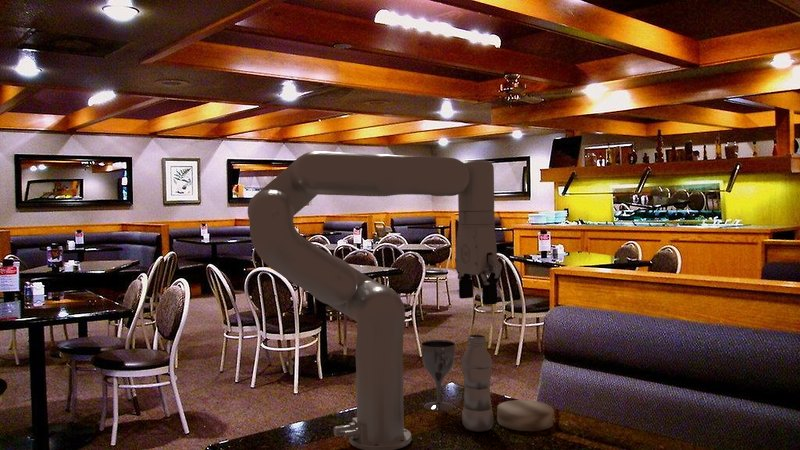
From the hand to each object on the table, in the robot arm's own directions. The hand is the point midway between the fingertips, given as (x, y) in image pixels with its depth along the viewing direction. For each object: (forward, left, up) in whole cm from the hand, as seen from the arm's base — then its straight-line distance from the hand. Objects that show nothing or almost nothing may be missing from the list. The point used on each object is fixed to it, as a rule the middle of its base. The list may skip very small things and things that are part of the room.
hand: (477, 301), depth 141 cm
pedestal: (+12, 0, -27) cm, 30 cm away
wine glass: (0, +18, -28) cm, 33 cm away
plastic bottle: (0, 0, -28) cm, 28 cm away
